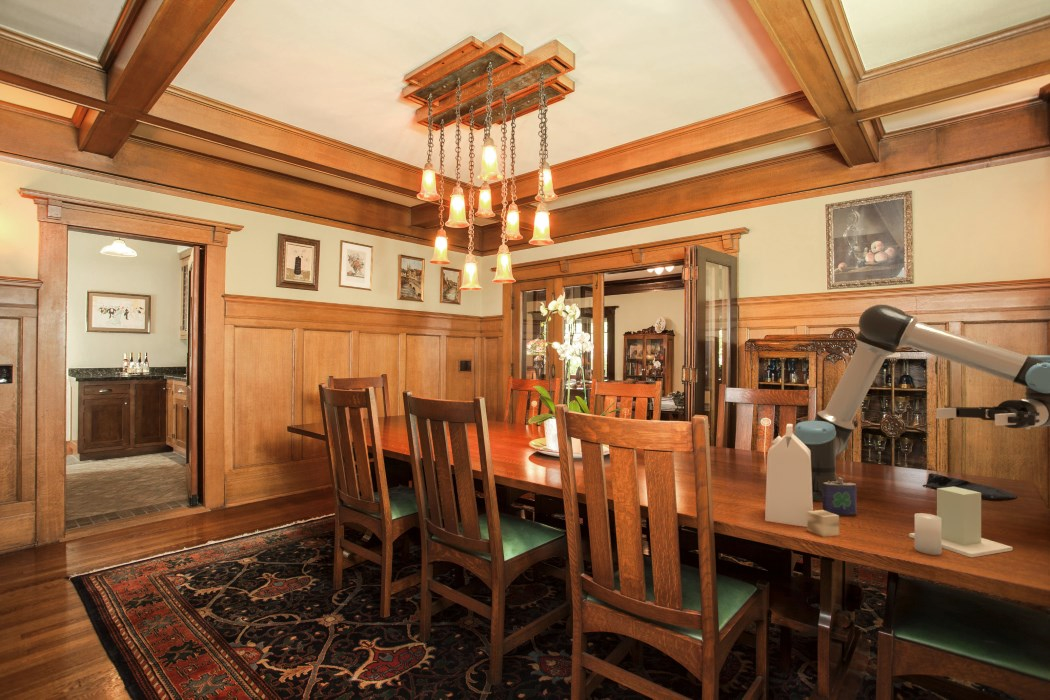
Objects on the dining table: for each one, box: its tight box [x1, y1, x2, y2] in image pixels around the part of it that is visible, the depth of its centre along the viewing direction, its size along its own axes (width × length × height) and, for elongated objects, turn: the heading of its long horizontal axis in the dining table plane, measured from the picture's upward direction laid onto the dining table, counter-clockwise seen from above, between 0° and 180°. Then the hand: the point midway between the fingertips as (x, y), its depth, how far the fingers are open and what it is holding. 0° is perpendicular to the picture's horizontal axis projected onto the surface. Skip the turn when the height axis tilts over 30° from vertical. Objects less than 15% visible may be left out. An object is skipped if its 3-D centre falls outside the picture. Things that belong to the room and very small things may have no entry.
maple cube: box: [807, 509, 840, 538], centre depth 135 cm, size 5×5×5 cm
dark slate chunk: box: [922, 472, 1018, 500], centre depth 175 cm, size 15×22×5 cm
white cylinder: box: [914, 512, 943, 556], centre depth 123 cm, size 5×5×8 cm
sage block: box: [936, 487, 982, 546], centre depth 127 cm, size 6×6×12 cm
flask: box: [822, 476, 858, 517], centre depth 149 cm, size 9×3×11 cm, turn 88°
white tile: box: [908, 532, 1013, 559], centre depth 127 cm, size 14×14×1 cm
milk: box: [764, 423, 814, 528], centre depth 147 cm, size 12×12×26 cm
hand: (965, 416), depth 134 cm, fingers open, 13 cm apart
